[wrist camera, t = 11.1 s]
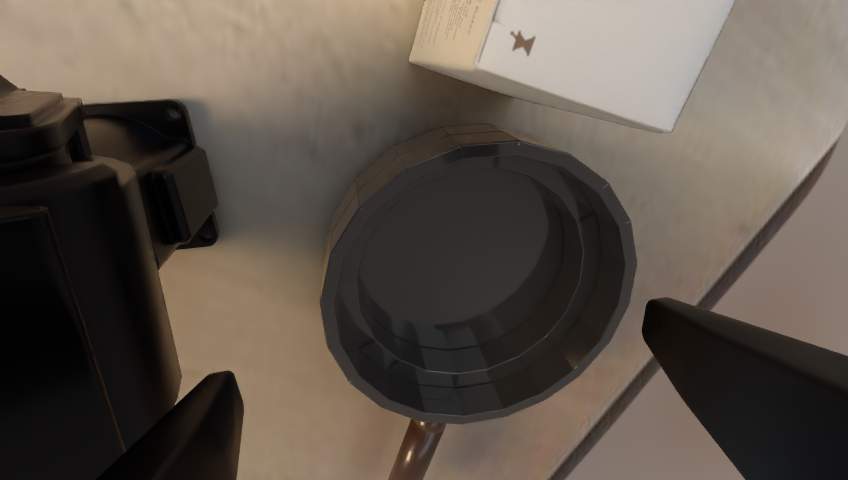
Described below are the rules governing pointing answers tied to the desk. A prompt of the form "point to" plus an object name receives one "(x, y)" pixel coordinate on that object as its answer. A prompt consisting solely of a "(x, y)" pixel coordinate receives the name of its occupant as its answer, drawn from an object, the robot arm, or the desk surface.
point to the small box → (577, 52)
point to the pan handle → (416, 450)
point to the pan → (473, 274)
